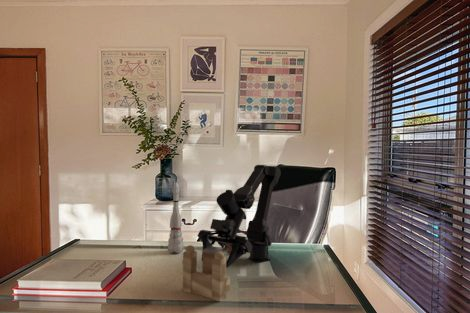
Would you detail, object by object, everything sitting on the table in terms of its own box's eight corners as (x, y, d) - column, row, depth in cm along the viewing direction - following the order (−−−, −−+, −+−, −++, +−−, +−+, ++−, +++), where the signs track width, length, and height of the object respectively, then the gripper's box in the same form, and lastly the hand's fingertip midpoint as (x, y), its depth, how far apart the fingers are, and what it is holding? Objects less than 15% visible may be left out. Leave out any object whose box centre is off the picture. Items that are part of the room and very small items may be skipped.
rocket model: (164, 251, 140) (164, 181, 139) (179, 248, 144) (180, 181, 143) (171, 256, 134) (172, 183, 133) (187, 252, 138) (188, 182, 137)
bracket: (210, 284, 106) (210, 246, 106) (222, 287, 103) (222, 248, 103) (202, 289, 102) (202, 249, 102) (214, 293, 99) (214, 252, 99)
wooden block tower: (199, 281, 108) (199, 239, 108) (235, 290, 101) (235, 246, 101) (182, 290, 101) (183, 245, 101) (220, 301, 94) (220, 253, 94)
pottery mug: (243, 248, 146) (246, 235, 142) (238, 264, 138) (241, 250, 134) (218, 240, 148) (220, 227, 144) (211, 255, 140) (213, 241, 136)
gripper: (200, 206, 112) (179, 246, 103) (248, 212, 102) (229, 256, 93) (213, 224, 119) (195, 263, 110) (259, 231, 109) (242, 274, 100)
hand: (214, 264), depth 103 cm, fingers open, 9 cm apart
